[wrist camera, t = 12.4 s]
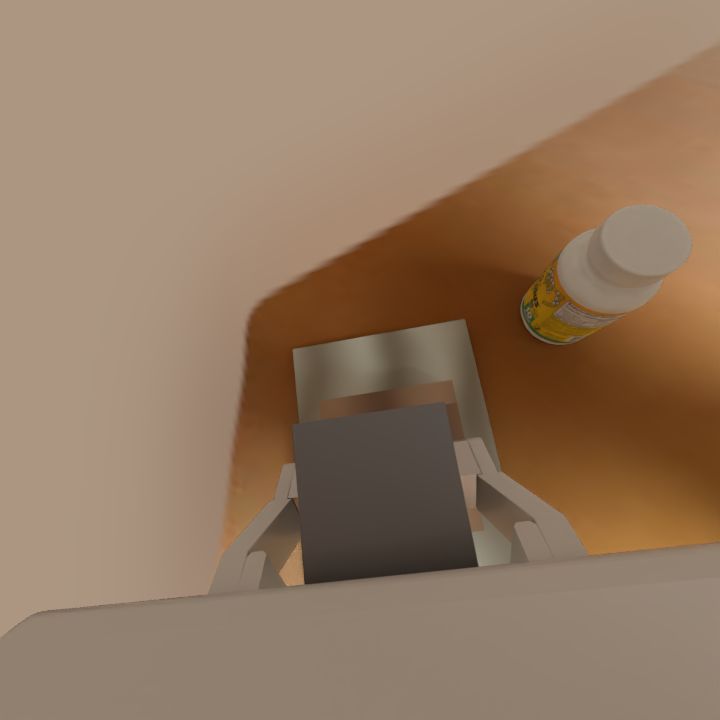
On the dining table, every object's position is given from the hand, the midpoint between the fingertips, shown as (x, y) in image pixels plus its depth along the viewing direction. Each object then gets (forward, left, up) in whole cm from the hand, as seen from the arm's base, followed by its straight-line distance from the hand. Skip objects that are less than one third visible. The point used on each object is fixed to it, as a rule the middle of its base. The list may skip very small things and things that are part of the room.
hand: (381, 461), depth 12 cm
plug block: (0, +1, -4) cm, 4 cm away
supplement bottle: (-14, -8, -12) cm, 21 cm away
